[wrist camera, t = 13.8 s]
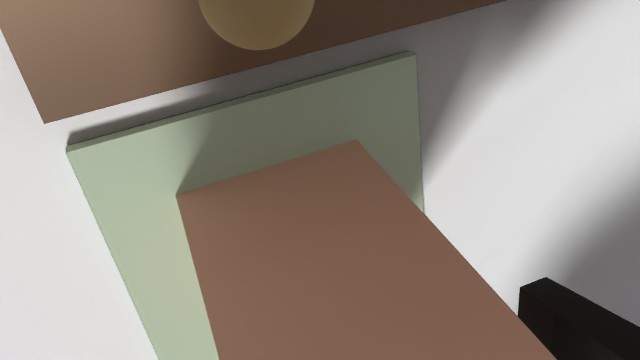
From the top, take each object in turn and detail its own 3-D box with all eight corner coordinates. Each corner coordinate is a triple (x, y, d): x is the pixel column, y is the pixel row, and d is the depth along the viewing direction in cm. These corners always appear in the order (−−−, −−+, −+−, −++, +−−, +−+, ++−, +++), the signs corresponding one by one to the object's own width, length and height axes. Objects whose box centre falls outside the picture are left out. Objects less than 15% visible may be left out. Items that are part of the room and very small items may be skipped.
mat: (422, 291, 18) (427, 296, 18) (172, 385, 16) (174, 394, 16) (410, 50, 14) (416, 54, 13) (65, 146, 12) (65, 153, 12)
